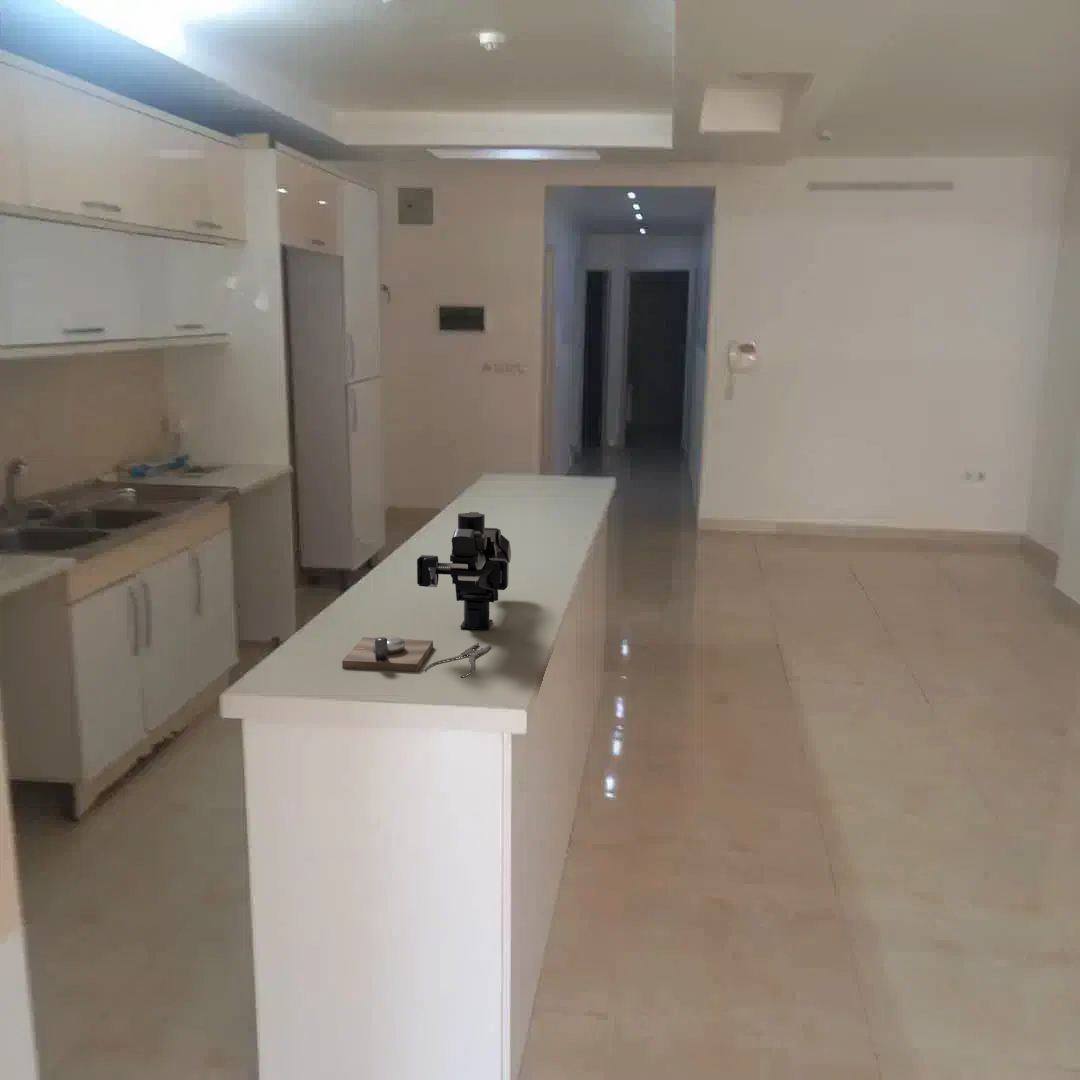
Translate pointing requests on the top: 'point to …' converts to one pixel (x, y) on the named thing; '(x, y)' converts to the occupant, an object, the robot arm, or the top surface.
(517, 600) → the top surface
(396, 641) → the crank handle
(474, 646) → the pliers
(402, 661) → the dial plate
